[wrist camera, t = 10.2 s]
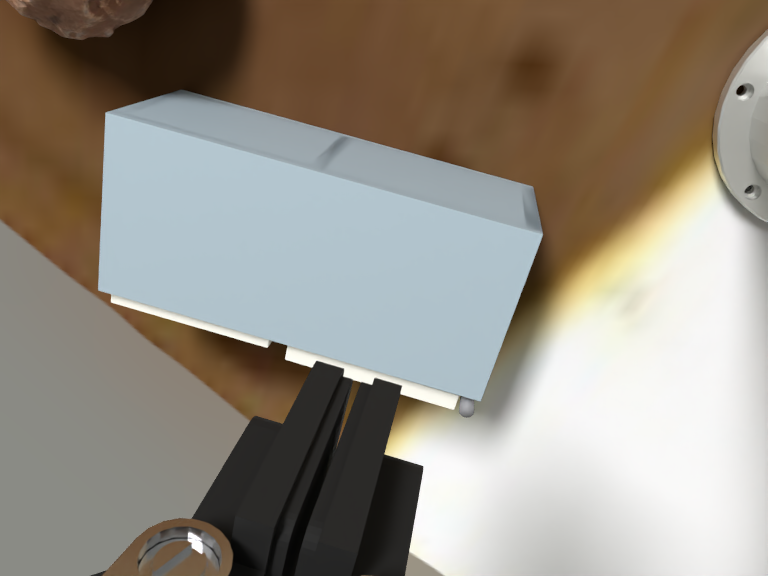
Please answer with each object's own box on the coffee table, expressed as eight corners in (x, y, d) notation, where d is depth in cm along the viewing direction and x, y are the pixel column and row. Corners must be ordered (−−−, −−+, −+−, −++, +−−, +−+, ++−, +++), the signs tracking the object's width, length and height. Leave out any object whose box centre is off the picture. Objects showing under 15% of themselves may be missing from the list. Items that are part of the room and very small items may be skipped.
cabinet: (533, 186, 38) (543, 234, 30) (474, 352, 43) (470, 428, 36) (181, 89, 39) (105, 112, 31) (165, 263, 44) (96, 319, 36)
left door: (479, 336, 42) (476, 406, 35) (468, 366, 43) (463, 439, 36) (320, 289, 43) (285, 349, 36) (313, 320, 44) (278, 383, 37)
